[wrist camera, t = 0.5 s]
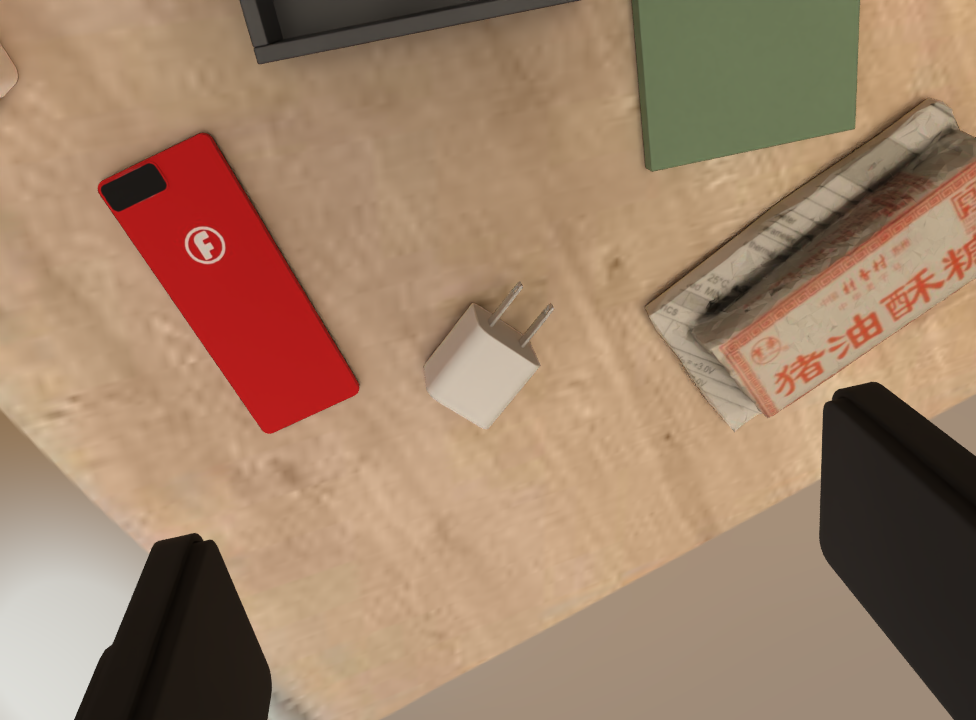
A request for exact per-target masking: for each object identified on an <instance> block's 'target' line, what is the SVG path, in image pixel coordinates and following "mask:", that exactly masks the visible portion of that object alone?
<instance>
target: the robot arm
mask: <svg viewBox="0 0 976 720" xmlns="http://www.w3.org/2000/svg"><path fill="white" fill-rule="evenodd" d="M819 539H820V545H821V549H822V552H823V555H824V556H825V558H826V560H827V562H828V563H829V564H830V566H831V567H832V568H833V569H834V571H835V572H836V573H837V574H838V576H839V577H840V578H841V579H842V581H843V582H844V583H845V584H846V586H847V587H848V588H849V589H850V591H851V592H852V593H853V594H854V596H855V597H856V598H857V599H858V601H859V602H860V603H861V604H862V606H863V607H864V608H865V609H866V611H867V612H868V613H869V614H870V616H871V617H872V618H873V619H874V620H875V622H876V623H877V624H878V626H879V627H880V628H881V629H882V631H883V632H884V633H885V634H886V636H887V637H888V638H889V639H890V640H891V642H892V643H893V644H894V646H895V647H896V648H897V649H898V650H899V652H900V653H901V654H902V655H903V657H904V658H905V659H906V660H907V662H908V663H909V664H910V665H911V667H912V668H913V669H914V670H915V672H916V673H917V674H918V675H919V676H920V678H921V679H922V680H923V682H924V683H925V684H926V685H927V687H928V688H929V689H930V690H931V692H932V693H933V694H934V695H935V697H936V698H937V699H938V700H939V702H940V703H941V704H942V705H943V706H944V708H945V709H946V710H947V711H948V713H949V714H950V715H951V717H952V718H953V719H954V720H976V456H975V455H973V454H972V453H971V452H969V451H968V450H967V449H965V448H964V447H963V446H961V445H960V444H959V443H957V442H956V441H955V440H953V439H952V438H951V437H950V436H948V435H947V434H946V433H944V432H943V431H942V430H940V429H939V428H938V427H937V426H935V425H934V424H933V423H931V422H930V421H929V420H927V419H926V418H925V417H923V416H922V415H921V414H919V413H918V412H917V411H916V410H914V409H913V408H912V407H910V406H909V405H908V404H906V403H905V402H904V401H902V400H901V399H900V398H898V397H897V396H896V395H895V394H893V393H892V392H891V391H889V390H888V389H887V388H885V387H884V386H883V385H881V384H879V383H877V382H869V383H865V384H861V385H856V386H852V387H847V388H843V389H838V390H837V391H835V393H834V395H833V397H832V401H828V402H827V403H825V405H824V408H823V430H822V463H821V498H820V531H819ZM271 691H272V681H271V674H270V669H269V666H268V664H267V661H266V659H265V657H264V654H263V652H262V650H261V647H260V645H259V643H258V640H257V638H256V636H255V633H254V631H253V629H252V626H251V624H250V622H249V619H248V617H247V615H246V612H245V610H244V608H243V605H242V603H241V601H240V598H239V596H238V593H237V591H236V589H235V586H234V584H233V582H232V579H231V577H230V575H229V572H228V570H227V568H226V565H225V563H224V561H223V558H222V556H221V554H220V551H219V549H218V547H217V545H216V543H215V542H214V541H213V540H207V541H203V539H202V537H201V536H200V535H199V534H196V533H193V534H188V535H184V536H179V537H175V538H170V539H166V540H161V541H158V542H156V543H155V544H154V545H153V547H152V549H151V551H150V554H149V556H148V559H147V561H146V564H145V566H144V569H143V571H142V574H141V576H140V578H139V581H138V583H137V586H136V588H135V591H134V593H133V595H132V598H131V601H130V603H129V605H128V608H127V610H126V613H125V615H124V617H123V620H122V622H121V625H120V627H119V630H118V632H117V635H116V637H115V640H114V642H113V644H112V645H111V646H110V647H108V648H107V649H106V650H105V651H104V653H103V654H102V656H101V658H100V660H99V662H98V664H97V666H96V669H95V671H94V674H93V676H92V678H91V681H90V683H89V686H88V688H87V690H86V693H85V695H84V698H83V700H82V702H81V705H80V707H79V709H78V712H77V714H76V717H75V719H74V720H267V719H268V712H269V706H270V699H271Z"/></svg>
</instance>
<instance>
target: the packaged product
mask: <svg viewBox="0 0 976 720" xmlns="http://www.w3.org/2000/svg"><path fill="white" fill-rule="evenodd" d="M974 279H976V137H975V138H974V137H973V136H971V135H969V134H967V133H966V132H963V131H960V129H959V127H958V125H957V122H956V120H955V117H954V115H953V113H952V109H951V108H950V107H949V106H948V105H946V104H945V103H944V102H943V101H939V100H935V99H931V98H927V99H926V100H924V101H923V102H922V103H920V104H919V105H918V106H916V107H915V108H914V109H912V110H911V111H910V112H908V113H907V114H906V115H904V116H903V117H902V118H900V119H899V120H898V121H897V122H895V123H894V124H893V125H891V126H890V127H889V128H887V129H886V130H885V131H883V132H882V133H881V134H879V135H878V136H876V137H875V138H873V139H872V140H870V141H869V142H867V143H866V144H864V145H863V146H861V147H860V148H858V149H857V150H855V151H854V152H852V153H851V154H850V155H848V156H847V157H845V158H844V159H842V160H841V161H839V162H838V163H836V164H835V165H833V166H832V167H830V168H829V169H827V170H826V171H824V172H823V173H821V174H820V175H818V176H817V177H816V178H814V179H813V180H811V181H810V182H808V183H807V184H805V185H804V186H802V187H801V188H799V189H798V190H796V191H795V192H793V193H792V194H790V195H789V196H787V197H786V198H784V199H783V200H781V201H780V202H778V203H777V204H776V205H775V206H773V207H772V208H771V209H770V210H768V211H767V212H766V213H765V214H763V215H762V216H761V217H760V218H759V219H757V220H756V221H755V222H754V223H752V224H751V225H750V226H749V227H747V228H746V229H745V230H744V231H742V232H741V233H740V234H739V235H737V236H736V237H735V238H734V239H732V240H731V241H730V242H728V243H727V244H726V245H724V246H723V247H722V248H721V249H719V250H718V251H717V252H715V253H714V254H713V255H712V256H710V257H709V258H708V259H706V260H705V261H704V262H702V263H701V264H700V265H699V266H697V267H696V268H695V269H693V270H692V271H691V272H690V273H688V274H687V275H686V276H684V277H683V278H682V279H680V280H679V281H678V282H677V283H675V284H674V285H673V286H671V287H670V288H669V289H668V290H666V291H665V292H664V293H662V294H661V295H660V296H658V297H657V298H656V299H655V300H653V301H652V302H651V303H649V304H648V305H647V306H646V307H645V308H646V311H647V313H648V315H649V317H650V319H651V321H652V323H653V325H654V326H655V328H656V330H657V332H658V333H659V334H660V336H661V337H662V338H663V339H664V340H665V342H666V343H667V344H668V345H669V347H670V348H671V349H672V350H673V351H674V353H675V354H676V355H677V356H678V358H679V359H680V360H681V362H682V363H683V365H684V367H685V368H686V370H687V372H688V373H689V375H690V377H691V378H692V379H693V381H694V382H695V384H696V385H697V386H698V388H699V389H700V391H701V392H702V393H703V395H704V396H705V398H706V399H707V400H708V402H709V403H710V404H711V405H712V407H713V408H714V409H715V410H716V411H717V412H718V413H719V415H720V416H721V417H722V418H723V419H724V420H725V421H726V423H727V424H728V425H729V426H730V427H731V429H732V430H733V431H734V432H735V431H736V430H738V429H739V428H740V427H741V426H742V425H743V424H745V423H746V422H748V421H749V420H750V419H752V418H753V417H755V416H756V415H759V414H762V413H763V414H764V415H765V416H766V417H767V418H769V417H771V416H774V415H775V414H776V413H778V412H779V411H781V410H782V409H784V408H785V407H787V406H789V405H790V404H792V403H793V402H795V401H797V400H798V399H800V398H801V397H802V396H804V395H805V394H807V393H808V392H810V391H811V390H813V389H814V388H816V387H817V386H818V385H820V384H821V383H823V382H824V381H826V380H827V379H829V378H831V377H832V376H834V375H835V374H836V373H838V372H839V371H841V370H842V369H843V368H845V367H846V366H848V365H849V364H851V363H852V362H853V361H855V360H856V359H858V358H859V357H861V356H862V355H864V354H865V353H867V352H868V351H870V350H871V349H872V348H874V347H875V346H877V345H878V344H880V343H881V342H883V341H884V340H885V339H887V338H888V337H890V336H891V335H893V334H894V333H896V332H897V331H899V330H900V329H902V328H903V327H905V326H906V325H908V324H909V323H911V322H912V321H913V320H915V319H916V318H918V317H919V316H921V315H922V314H924V313H925V312H927V311H928V310H929V309H931V308H932V307H934V306H935V305H937V304H938V303H940V302H941V301H943V300H945V299H946V298H947V297H948V296H950V295H952V294H953V293H955V292H956V291H958V290H959V289H961V288H962V287H963V286H965V285H966V284H968V283H969V282H970V281H972V280H974Z"/></svg>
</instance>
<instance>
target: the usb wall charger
mask: <svg viewBox="0 0 976 720" xmlns="http://www.w3.org/2000/svg"><path fill="white" fill-rule="evenodd" d="M517 288H518V289H517ZM522 288H523V286H522V284H521V282H518V283H517V284H516V286H515V287H514V288H513V289H512V290H511V292H510V293H509V294H508V295H507V296H506V298H505V299H504V300H503V302H502V303H501V304H500V305H499V307H498V308H497V309H496V311H495V312H494V313H493V314H491V313H490V312H488V311H487V310H485V309H484V308H482V307H481V306H479V305H477V304H475V303H472V304H471V305H470V307H469V308H468V309H467V310H466V312H465V313H464V314H463V316H462V317H461V318H460V319H459V321H458V322H457V323H456V325H455V326H454V327H453V329H452V330H451V331H450V332H449V334H448V335H447V336H446V338H445V339H444V340H443V342H442V343H441V344H440V345H439V347H438V348H437V349H436V351H435V352H434V353H433V354H432V356H431V357H430V358H429V360H428V361H427V362H426V364H425V365H424V375H425V383H426V390H427V392H428V393H429V394H430V396H431V397H432V398H434V399H435V400H436V401H437V402H439V403H441V404H442V405H444V406H446V407H447V408H449V409H451V410H452V411H454V412H456V413H457V414H459V415H461V416H462V417H464V418H466V419H467V420H469V421H471V422H472V423H474V424H476V425H477V426H479V427H481V428H483V429H489V427H490V426H491V425H492V424H493V422H494V421H495V420H496V419H497V418H498V416H499V415H500V414H501V413H502V412H503V410H504V409H505V408H506V407H507V406H508V404H509V403H510V402H511V401H512V400H513V398H514V397H515V396H516V395H517V393H518V392H519V391H520V390H521V389H522V387H523V386H524V385H525V384H526V383H527V381H528V380H529V379H530V378H531V377H532V375H533V374H534V373H535V372H536V370H537V369H538V368H539V367H540V363H539V360H538V358H537V356H536V354H535V352H534V349H533V347H532V345H531V343H530V342H529V340H530V339H531V338H532V337H533V335H534V334H535V333H536V332H537V330H538V329H539V328H540V327H541V325H542V324H543V323H544V322H545V320H546V319H547V318H548V316H549V315H550V314H551V313H552V311H553V310H554V307H553V306H552V304H551V303H550V304H549V305H548V306H547V307H546V308H545V309H544V310H543V312H542V313H541V314H540V315H539V316H538V317H537V319H536V320H535V321H534V322H533V324H532V325H531V326H530V327H529V329H528V330H527V331H526V332H525V334H524V335H522V334H521V333H520V332H518V331H517V330H515V329H514V328H512V327H511V326H509V325H508V324H506V323H505V322H503V321H502V320H500V319H499V318H500V316H501V315H502V314H503V313H504V311H505V310H506V309H507V308H508V306H509V305H510V304H511V303H512V301H513V300H514V299H515V297H516V296H517V295H518V293H519V292H520V291H521V289H522ZM515 291H516V292H515ZM548 310H549V311H548ZM547 311H548V312H547ZM546 312H547V314H546Z"/></svg>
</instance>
